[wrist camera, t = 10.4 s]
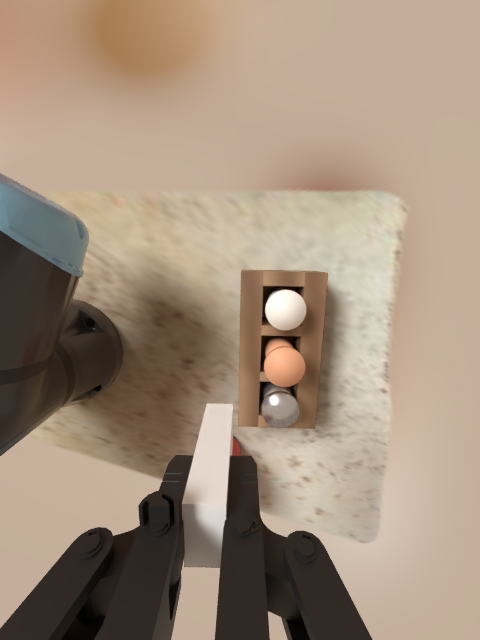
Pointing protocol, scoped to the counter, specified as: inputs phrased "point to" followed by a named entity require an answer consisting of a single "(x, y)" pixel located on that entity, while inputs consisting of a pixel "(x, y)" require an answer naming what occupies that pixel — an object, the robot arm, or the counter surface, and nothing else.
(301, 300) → the plunger white
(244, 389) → the button block
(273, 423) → the plunger grey
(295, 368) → the peach round knob
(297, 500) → the counter surface
